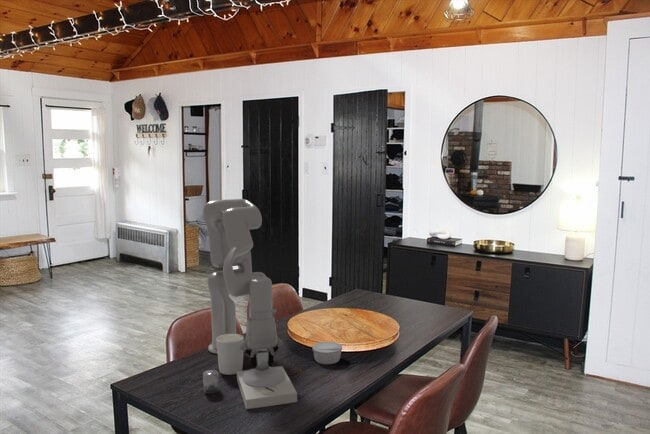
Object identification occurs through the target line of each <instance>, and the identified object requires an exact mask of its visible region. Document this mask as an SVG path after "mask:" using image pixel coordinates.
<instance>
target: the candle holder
mask: <svg viewBox="0 0 650 434" xmlns="http://www.w3.org/2000/svg"><path fill="white" fill-rule="evenodd" d="M244 340H245V337H244V335H243V334H240V333H236V334H233V333H232V334H224V335H220V336H218V337H217V338H216V342H217V353H218V354H217V362H218V363H217V364H218V372H219V373H221V374H222V375H228V376H231V375H237V371H243V368H244V351H242V350H241V349H240V345H241V344H242V343H243V341H244Z"/></svg>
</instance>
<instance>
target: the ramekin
mask: <svg viewBox="0 0 650 434" xmlns="http://www.w3.org/2000/svg"><path fill="white" fill-rule="evenodd" d="M342 350H343V346H342V345H341V344H340V343H339V342H336V341H335V342H334V341H318V342H316V343H315V344H313V346H312V352H313V357H314V360H315V361H316V362H317V363H318V364H321V365H333V364H336V363H338V362H339V361H340V359H341V355H342Z"/></svg>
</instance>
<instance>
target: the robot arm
mask: <svg viewBox="0 0 650 434" xmlns="http://www.w3.org/2000/svg"><path fill="white" fill-rule="evenodd" d="M203 220H204V223H205V226H206V228H207V231H208V242H209V243H208V245H209V254H210V255H209V257H210V263H211V265H212V267H215V268H222V270H218V271H214V272H212V273H211V274H210V275H209V276H208V278H207V286H208V292H209V297H210V311H211V312H210V314H211V315H210V316H211V343H210V344H209V345H208V351H209V352H210V353H212V354H215V355H218V353H217V342H216V338H217V337H218V336H220V335H224V334H232V333H233V334H237V320H236V317H237V313H236V312H237V311H236V304H235V301H234V300H233V299H232V298H231V296H232V297H233V298H237V297H245V296H249V316H248V318H247V320H246V326H245V338H244V341H243V343H242V344H241V345H240V349H241V350H242V351H243V353H246V354H247V355H248V356H249V357H250V358H249V360H250V364H249V365H250V367H252V369H255V368H256V362H255V356H254V354H255V350H256V349H259V348H267V349H269V367H273V364H274V362H275V361H274V355H275V353H277V351H278V350H279V349H280V348H281V347H282V346H283V345H284V342H283V341H282V339H280V337H279V336H278V332H277V325H276V321H275V320H276V319H275V315H276V314H277V313H278V312H277V309H275V308H273V282H272V279H271V278H269V277H267V275H266V274H265V273H264V272H261V271H256V272H255V271H254V272H253V266H252V265H253V264H252V252H251V250H252V249H253V247H254V241H253V238H252V234H251V232H250V230H257V229H259V228H260V227H261V226H262V224H263V223H262V222H263V218H262V214H261V211H260V209H259V208H258V207H257V205H255V204H254V203H252V202H251V201H249V200H248V199H245V198H233V199H216V200H210V201H208V202H206V203H205V204H204V206H203ZM234 267H237V268H236V269H234Z"/></svg>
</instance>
